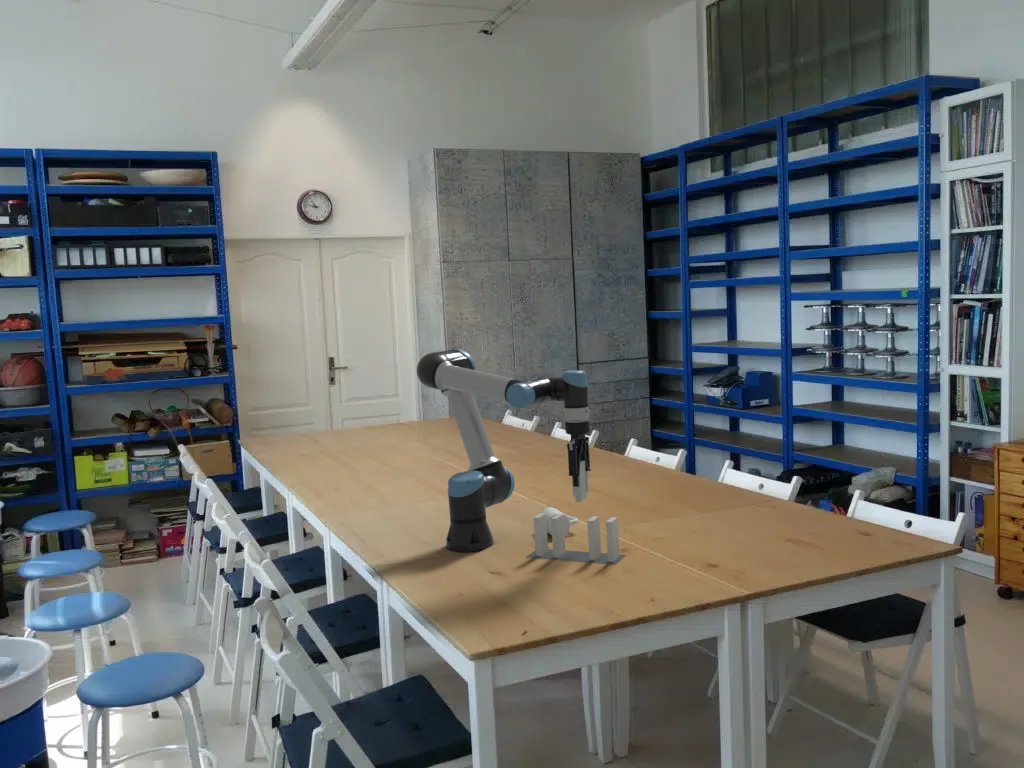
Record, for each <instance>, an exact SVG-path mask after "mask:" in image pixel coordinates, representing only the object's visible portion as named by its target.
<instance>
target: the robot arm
mask: <svg viewBox="0 0 1024 768" xmlns="http://www.w3.org/2000/svg"><path fill="white" fill-rule="evenodd" d="M416 375H417V378H418V380H419V382H420V383H421V384H422V385H424V386H425V387H427V388H429V389H430V388H431V389H435V390H439V391H440V392H441V394H442V396H444V397H447V399H448V402H449V404H450V408H451V411H452V414H453V417H454V419H455V422H456V426H457V429H458V431H459V434H460V438H461V440H462V443H463V445H464V449H465V452H466V455H467V458H468V461H469V464H470V465H469V468H468V470H465V471H462V472H457V473H455V474H453V475H451V476H450V477H449V478H448V481H447V496H448V508H449V509H448V510H449V521H450V524H449V528H448V532H447V536H446V540H445V541H446V542H445V543H446V549H448V550H449V551H452V552H459V553H461V552H463V553H469V552H470V553H471V552H477V551H483V550H486V549H488V548H491V547H492V546H493V545H494V537H493V534H492V531H491V528H490V527H489V524H488V522H487V511H486V509H487V508H489V507H492V506H495V505H499V504H502V503H503V502H505V501H506V500H508V499H509V498H510V497H511V496H512V495H513V492H514V490H515V483H516V482H515V477H514V474H513V473H512V471H511V470H510V469H508V467H506V466H503V463H502V460H501V459H500V458H498V457H496V456H495V453H494V450H493V448H492V447H493V446H492V445H491V442H490V438H489V435H488V432H487V431H486V427H485V424H484V421H483V418H482V416H481V412H480V410H479V406H478V404H477V400H476V397H475V396H479V397H483V398H486V399H492V400H495V401H501V402H504V403H508V404H509V405H510V406H511V407H512V408H515V409H526V408H528V407H532V406H535V405H540V404H543V403H544V404H545V403H548V402H563V406H564V407H563V410H564V411H563V412H564V420H565V423H564V426H565V428H564V429H565V434H567V435H570V440H569V443H567V444H566V448H567V457H568V464H567V465H568V476H569V477H571V482H572V497H573V498H574V497H582V484H581V476H580V460H582V461H585V469H586V489H587V493H589V492H590V491H589V474H588V473H589V472H591V471H592V470H591V461H590V459H591V458H590V444H589V443H590V437H589V436H586V434H589V433H590V430H591V429H590V428H591V427H590V426H591V425H590V421H589V418H590V415H589V414H590V413H591V410H590V409H589V399H588V398H589V396H588V395H589V392H588V391H589V390H588V387H589V386H588V385H589V384H588V377H587V373H586V371H584V370H580V369H579V370H567V371H565V370H564V371H563V373H562V374H561V376H560V377H552V376H551V377H550V376H549V377H547V376H539V377H532V378H531V379H530V380H526V381H525V380H520V379H516V378H511V377H507V376H504V375H502V376H501V375H498V374H493V373H490V372H489V373H488V372H486V371H485V372H484V371H479V370H477V369H476V363H475V361H474V359H473V357H472V356H471V354H469V353H468V352H466V351H465V350H464V349H463V350H462V349H453V348H452V349H449V350H443V351H434V352H433V351H432V352H430V353H427V354H425V355H424V356H422V357H421V358H420V359H419V361H418V363H417V365H416Z"/></svg>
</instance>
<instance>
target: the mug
mask: <svg viewBox="0 0 1024 768" xmlns="http://www.w3.org/2000/svg"><path fill="white" fill-rule="evenodd" d="M540 513H546V521H547V534H548V535H550V536H551V537H552V525H551V518H553V517H554V516H556V515H557V514H563V515H564V533H565V536H566V535H567V534H568V533H569V531H570V528H571V526H572V525H576V524H578V523H579V519H578V518H577V517H575V516H569V515H565V514H564V513H562V512H561V511H560V510H558V509H557V508H554V507H546V508H544V509H543V510H541V511H540Z"/></svg>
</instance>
